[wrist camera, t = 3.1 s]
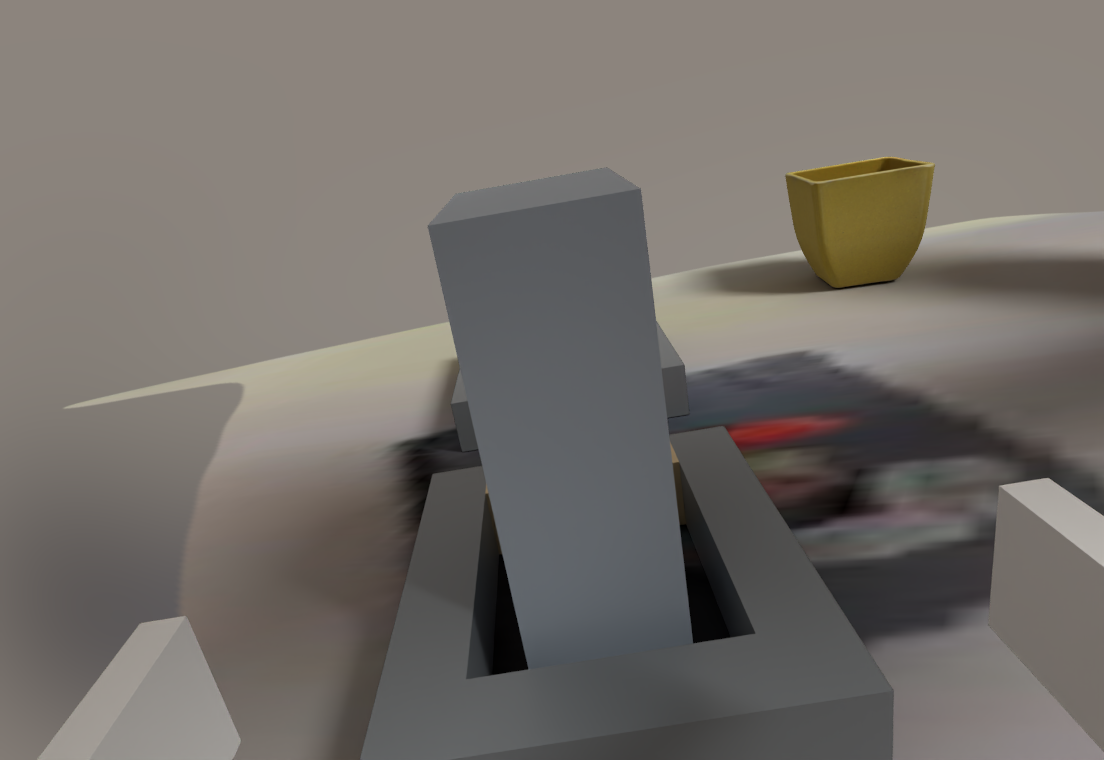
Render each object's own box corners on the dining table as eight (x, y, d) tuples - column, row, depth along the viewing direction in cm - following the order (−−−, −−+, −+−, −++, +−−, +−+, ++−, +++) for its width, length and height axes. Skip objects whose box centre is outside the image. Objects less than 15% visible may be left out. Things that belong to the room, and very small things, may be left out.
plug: (653, 537, 29) (603, 165, 23) (697, 685, 21) (640, 188, 16) (534, 556, 29) (458, 190, 24) (537, 709, 21) (427, 225, 16)
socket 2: (728, 484, 32) (723, 425, 30) (892, 780, 17) (893, 690, 16) (447, 530, 32) (432, 473, 31) (386, 857, 18) (356, 773, 17)
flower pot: (787, 274, 62) (783, 171, 59) (889, 259, 61) (890, 154, 58) (816, 300, 54) (813, 182, 51) (933, 284, 53) (938, 162, 50)
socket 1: (645, 335, 53) (641, 297, 52) (689, 414, 39) (684, 364, 38) (478, 363, 53) (470, 326, 52) (462, 452, 39) (450, 403, 38)
